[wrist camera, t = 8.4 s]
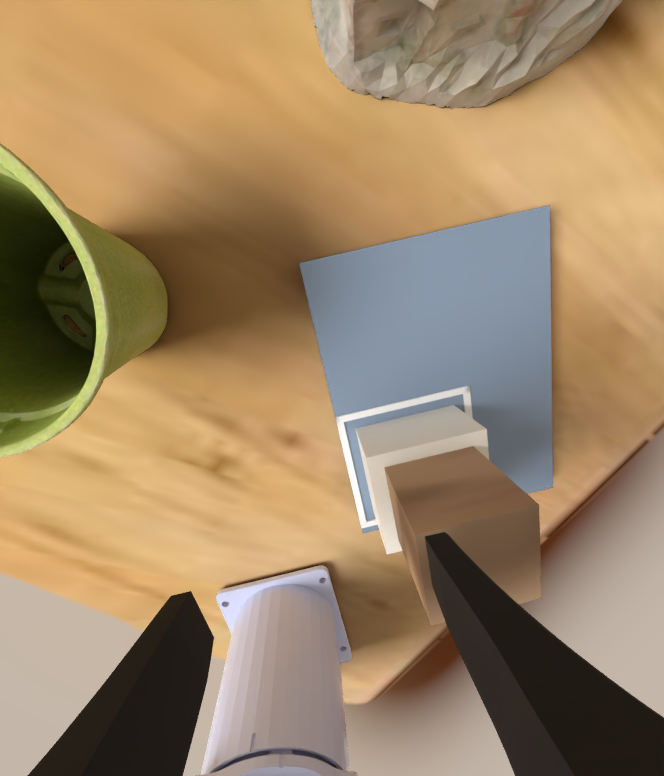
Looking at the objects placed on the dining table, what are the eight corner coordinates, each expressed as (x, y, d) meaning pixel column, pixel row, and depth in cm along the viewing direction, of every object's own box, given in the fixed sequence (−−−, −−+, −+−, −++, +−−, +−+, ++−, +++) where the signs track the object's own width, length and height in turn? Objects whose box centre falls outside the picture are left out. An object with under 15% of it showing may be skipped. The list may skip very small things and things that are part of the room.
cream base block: (463, 489, 20) (494, 528, 17) (373, 511, 20) (386, 554, 17) (453, 405, 18) (486, 429, 15) (355, 428, 18) (366, 457, 15)
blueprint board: (542, 479, 22) (554, 488, 21) (360, 522, 21) (363, 534, 20) (535, 210, 17) (551, 204, 16) (299, 265, 16) (298, 262, 15)
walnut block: (480, 520, 17) (541, 598, 12) (398, 540, 16) (430, 625, 12) (473, 445, 15) (538, 504, 11) (384, 467, 15) (415, 535, 11)
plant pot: (101, 151, 14) (-176, -46, 6) (240, 314, 17) (178, 330, 9) (-31, 280, 16) (-418, 262, 7) (119, 416, 18) (-40, 517, 10)
